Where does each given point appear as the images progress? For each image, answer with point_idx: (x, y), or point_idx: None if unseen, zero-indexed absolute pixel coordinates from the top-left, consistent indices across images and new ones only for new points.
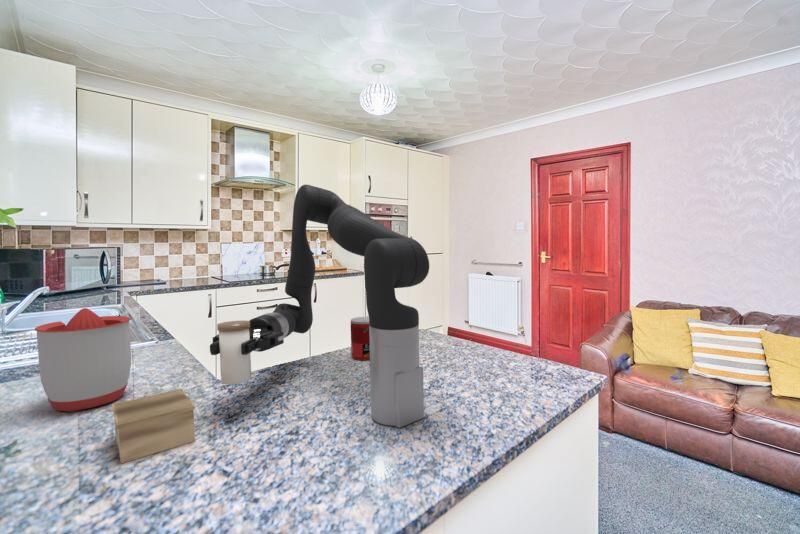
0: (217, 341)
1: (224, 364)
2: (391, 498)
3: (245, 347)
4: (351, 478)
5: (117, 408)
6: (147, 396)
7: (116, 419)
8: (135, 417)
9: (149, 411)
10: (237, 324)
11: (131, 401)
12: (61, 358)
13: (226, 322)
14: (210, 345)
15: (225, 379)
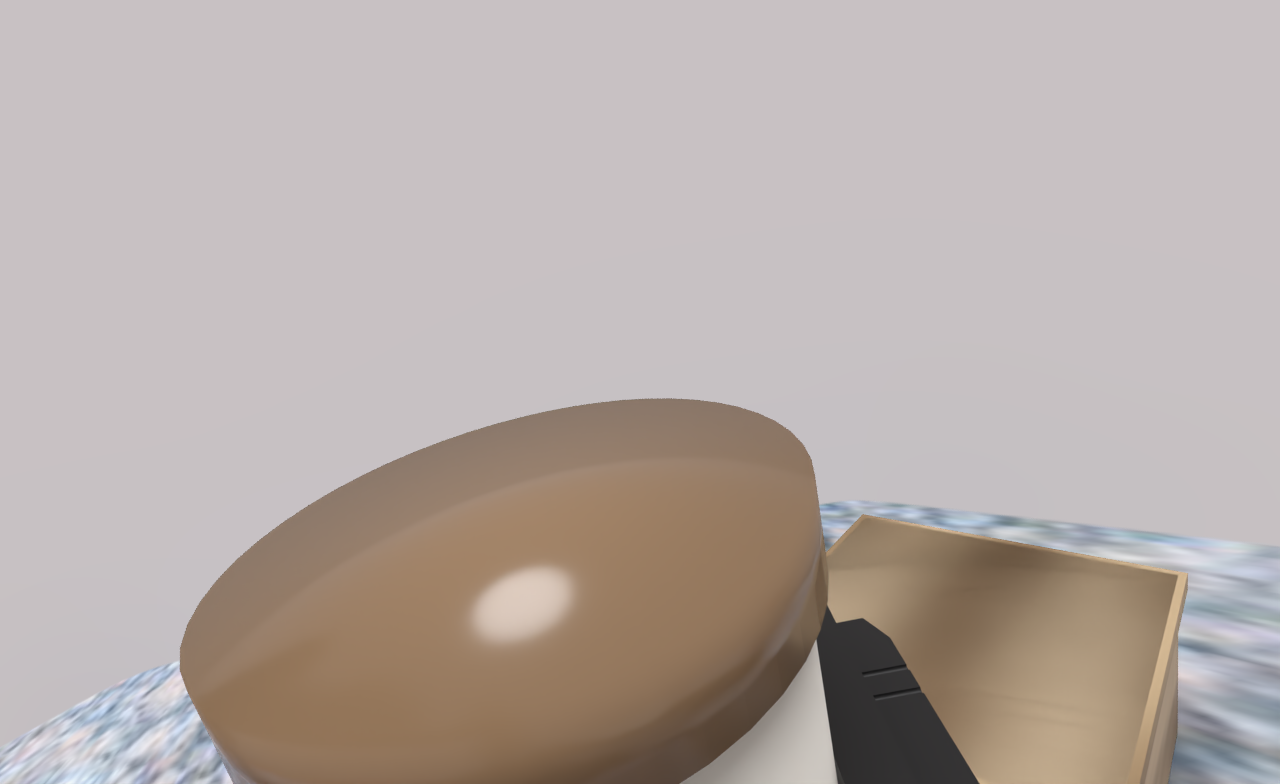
0: (841, 672)
1: None
2: (93, 728)
3: None
4: (146, 765)
5: (1074, 562)
6: (1155, 675)
7: (925, 527)
8: (870, 550)
9: (875, 586)
10: (417, 472)
11: (1136, 613)
12: None
13: (733, 507)
14: (855, 622)
15: None
